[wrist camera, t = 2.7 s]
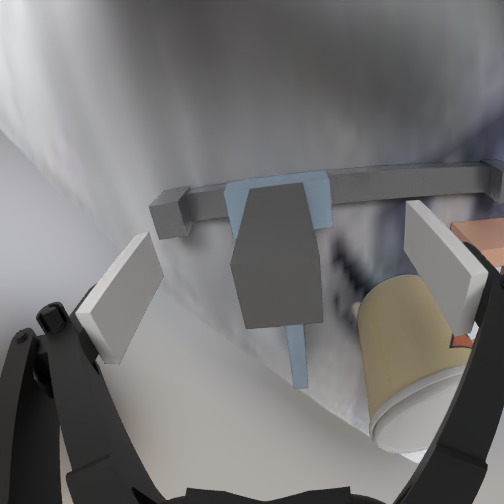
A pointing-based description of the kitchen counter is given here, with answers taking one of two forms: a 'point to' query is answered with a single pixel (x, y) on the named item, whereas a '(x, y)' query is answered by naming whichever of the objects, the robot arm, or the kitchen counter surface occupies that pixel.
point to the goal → (483, 238)
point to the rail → (340, 190)
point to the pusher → (280, 254)
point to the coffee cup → (408, 363)
